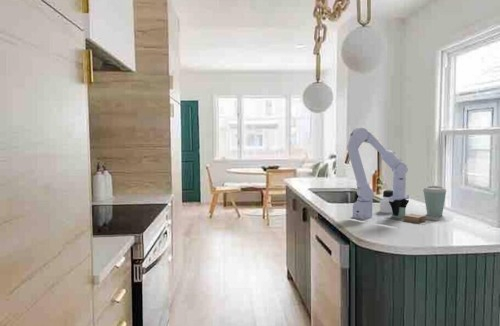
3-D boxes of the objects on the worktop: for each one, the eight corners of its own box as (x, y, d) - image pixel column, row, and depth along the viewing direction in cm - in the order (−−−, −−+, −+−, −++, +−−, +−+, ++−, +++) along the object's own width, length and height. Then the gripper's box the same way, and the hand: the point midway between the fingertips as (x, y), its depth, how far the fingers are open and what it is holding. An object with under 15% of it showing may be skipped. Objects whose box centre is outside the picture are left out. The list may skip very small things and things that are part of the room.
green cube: (400, 218, 199) (400, 208, 199) (391, 216, 202) (392, 207, 202) (405, 216, 202) (405, 207, 202) (396, 215, 205) (397, 206, 205)
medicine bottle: (393, 215, 211) (393, 191, 211) (379, 213, 216) (380, 190, 215) (397, 213, 217) (398, 190, 216) (384, 211, 221) (384, 189, 221)
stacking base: (423, 227, 184) (423, 219, 184) (383, 219, 199) (383, 212, 199) (438, 222, 193) (439, 215, 193) (399, 216, 208) (399, 209, 208)
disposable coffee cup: (447, 219, 201) (448, 188, 200) (422, 217, 205) (423, 187, 204) (444, 215, 211) (445, 185, 210) (421, 214, 215) (422, 185, 214)
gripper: (398, 189, 193) (397, 218, 194) (414, 186, 203) (414, 214, 204) (385, 187, 199) (384, 215, 200) (401, 185, 208) (400, 212, 209)
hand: (398, 214), depth 202 cm, fingers closed on green cube, 4 cm apart
